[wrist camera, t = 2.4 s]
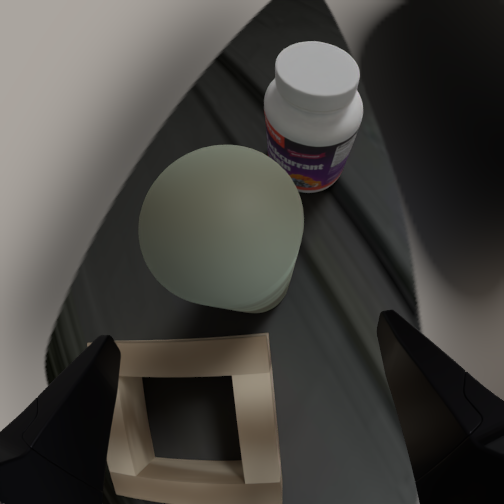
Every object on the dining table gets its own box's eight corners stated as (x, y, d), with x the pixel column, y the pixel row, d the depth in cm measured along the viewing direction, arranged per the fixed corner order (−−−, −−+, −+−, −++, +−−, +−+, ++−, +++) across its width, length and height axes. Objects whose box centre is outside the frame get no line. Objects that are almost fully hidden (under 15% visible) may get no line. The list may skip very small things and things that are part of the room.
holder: (282, 480, 17) (282, 506, 13) (136, 475, 18) (116, 494, 14) (268, 332, 19) (266, 335, 16) (114, 340, 20) (87, 342, 17)
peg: (292, 309, 19) (315, 295, 7) (224, 316, 20) (140, 311, 8) (285, 242, 20) (290, 136, 8) (219, 250, 21) (141, 159, 8)
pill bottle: (253, 169, 22) (235, 75, 12) (294, 120, 22) (297, 22, 13) (318, 210, 21) (343, 128, 11) (355, 155, 21) (391, 63, 12)
